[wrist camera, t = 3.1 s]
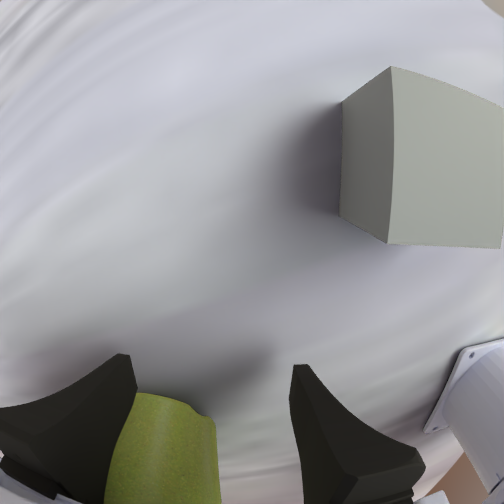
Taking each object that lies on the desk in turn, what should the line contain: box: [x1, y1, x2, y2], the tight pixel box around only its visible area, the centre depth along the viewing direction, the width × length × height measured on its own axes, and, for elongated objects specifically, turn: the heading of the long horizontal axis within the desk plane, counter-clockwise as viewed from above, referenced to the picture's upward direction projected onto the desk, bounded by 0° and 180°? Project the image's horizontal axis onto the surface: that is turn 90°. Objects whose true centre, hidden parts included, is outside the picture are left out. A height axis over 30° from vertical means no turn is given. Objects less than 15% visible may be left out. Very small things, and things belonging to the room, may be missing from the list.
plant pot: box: [104, 393, 221, 504], centre depth 11 cm, size 9×9×9 cm
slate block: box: [339, 66, 504, 249], centre depth 9 cm, size 5×5×5 cm
